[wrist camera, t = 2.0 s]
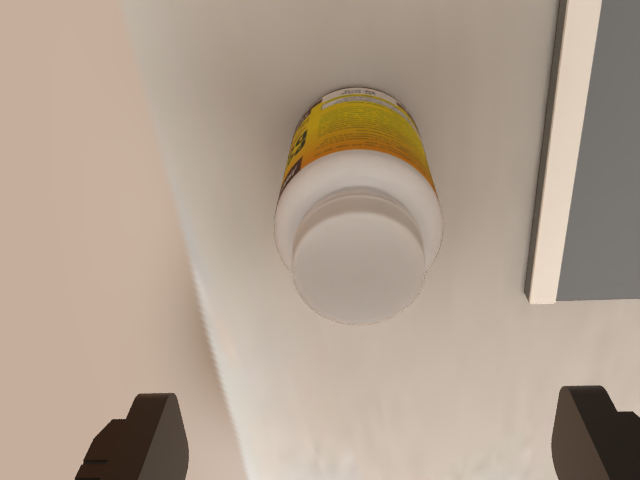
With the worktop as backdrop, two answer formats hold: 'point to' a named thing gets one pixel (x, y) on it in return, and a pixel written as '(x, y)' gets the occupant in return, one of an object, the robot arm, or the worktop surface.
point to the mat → (590, 159)
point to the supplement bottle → (357, 208)
